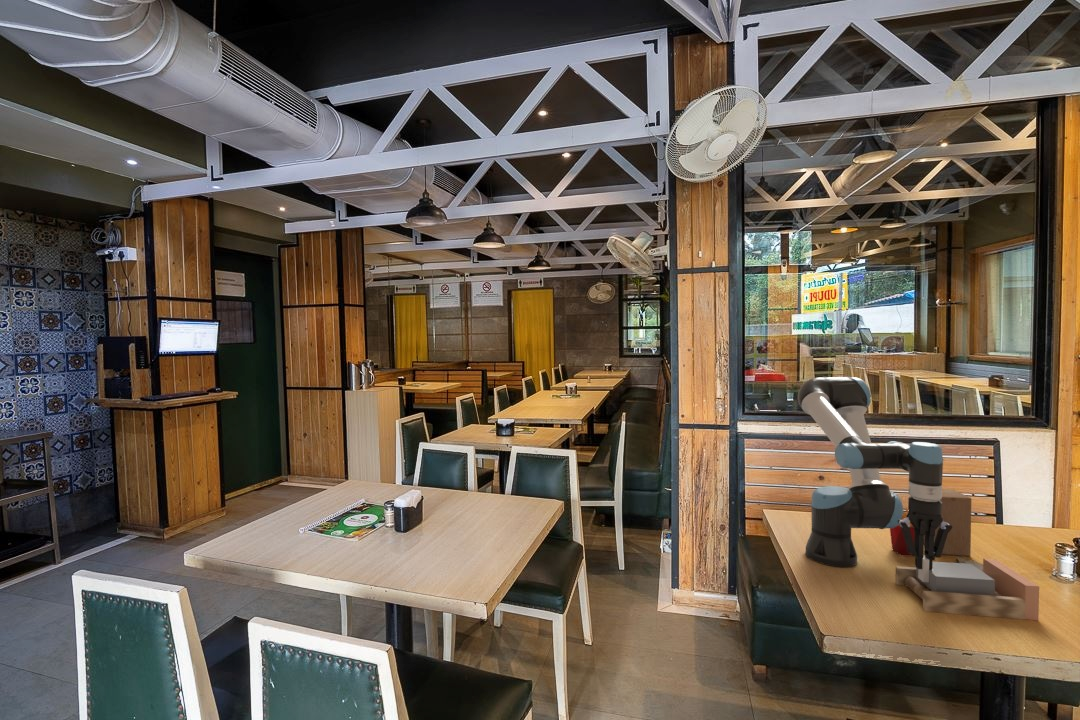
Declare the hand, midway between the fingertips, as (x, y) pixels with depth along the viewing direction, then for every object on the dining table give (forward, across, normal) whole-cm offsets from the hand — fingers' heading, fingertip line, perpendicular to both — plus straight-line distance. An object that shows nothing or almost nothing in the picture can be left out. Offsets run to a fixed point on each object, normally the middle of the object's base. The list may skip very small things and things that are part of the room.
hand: (923, 580), depth 143 cm
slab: (+2, +8, 0) cm, 8 cm away
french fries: (+5, +9, +34) cm, 35 cm away
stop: (+5, +21, +1) cm, 22 cm away
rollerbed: (+5, +8, +1) cm, 10 cm away
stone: (+5, +25, +18) cm, 31 cm away
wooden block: (+5, +25, +38) cm, 45 cm away
